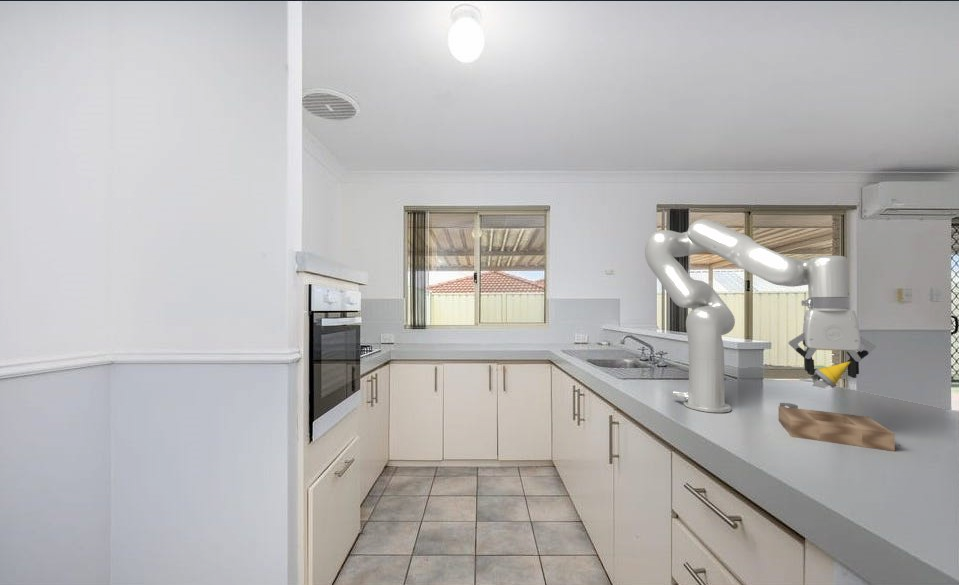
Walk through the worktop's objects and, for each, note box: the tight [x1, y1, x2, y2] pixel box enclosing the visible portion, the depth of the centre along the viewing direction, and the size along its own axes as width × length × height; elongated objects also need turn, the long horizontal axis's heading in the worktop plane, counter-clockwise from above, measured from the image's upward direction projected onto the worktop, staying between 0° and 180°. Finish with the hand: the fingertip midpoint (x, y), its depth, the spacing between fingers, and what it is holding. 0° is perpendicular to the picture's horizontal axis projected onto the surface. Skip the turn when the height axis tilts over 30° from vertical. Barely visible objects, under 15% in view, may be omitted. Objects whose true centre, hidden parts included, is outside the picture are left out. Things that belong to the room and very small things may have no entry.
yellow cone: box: [811, 361, 851, 389], centre depth 93 cm, size 5×5×10 cm
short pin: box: [779, 402, 799, 409], centre depth 106 cm, size 4×4×4 cm
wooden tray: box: [778, 405, 896, 452], centre depth 93 cm, size 18×14×4 cm
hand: (831, 375), depth 93 cm, fingers closed on yellow cone, 7 cm apart
